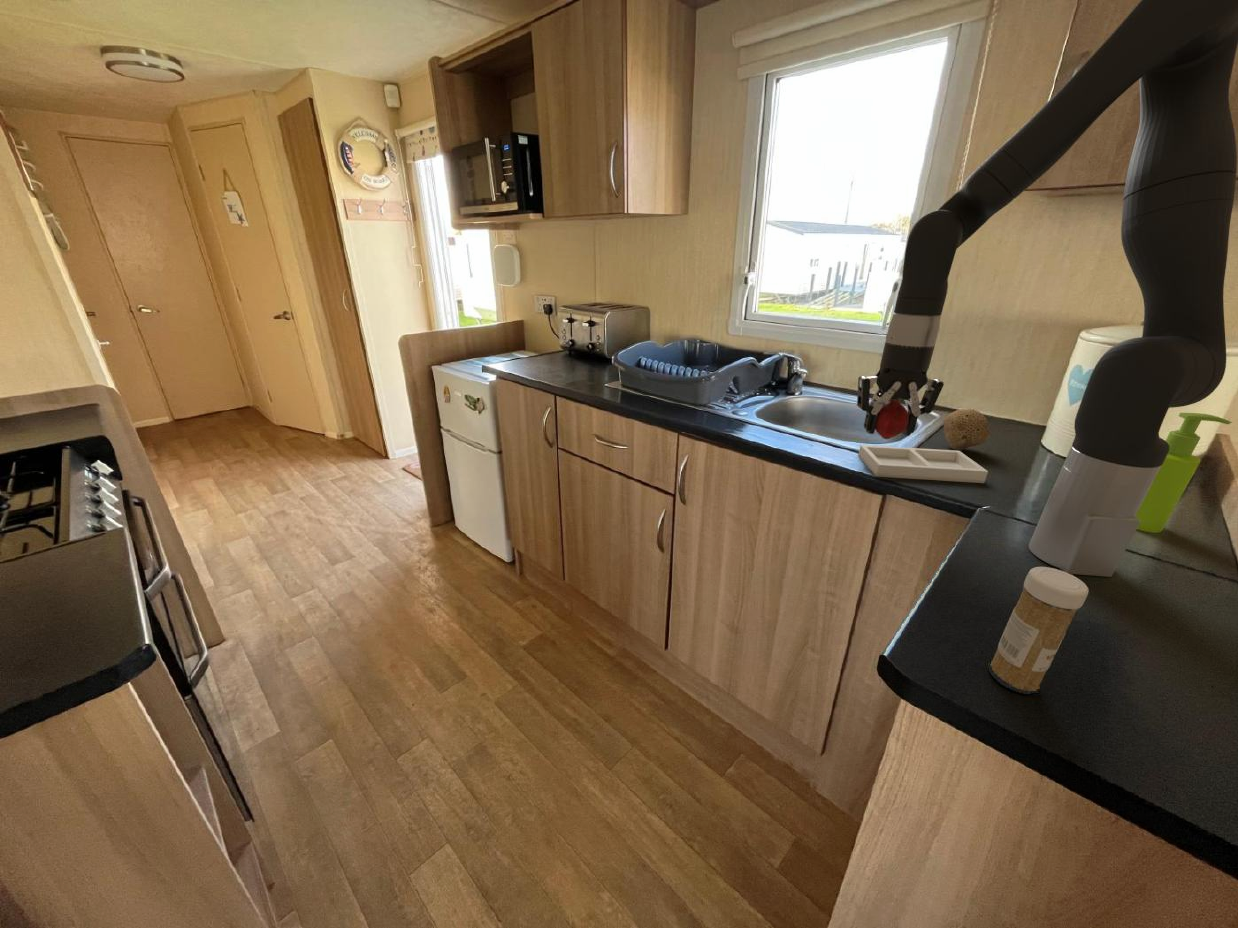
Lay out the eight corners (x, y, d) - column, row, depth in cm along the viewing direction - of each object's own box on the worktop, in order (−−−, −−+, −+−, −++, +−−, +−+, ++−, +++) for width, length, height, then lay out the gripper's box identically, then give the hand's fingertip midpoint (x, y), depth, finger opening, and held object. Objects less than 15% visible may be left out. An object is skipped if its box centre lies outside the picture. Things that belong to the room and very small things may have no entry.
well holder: (983, 483, 98) (988, 471, 97) (875, 476, 100) (878, 464, 99) (955, 461, 108) (959, 450, 107) (858, 455, 110) (860, 445, 109)
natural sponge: (979, 447, 116) (993, 407, 112) (985, 460, 109) (1000, 418, 105) (935, 440, 120) (947, 401, 116) (938, 452, 113) (951, 411, 109)
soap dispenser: (1178, 536, 81) (1243, 423, 72) (1125, 528, 83) (1184, 417, 75) (1156, 520, 86) (1215, 412, 77) (1108, 512, 88) (1160, 406, 80)
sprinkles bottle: (1045, 702, 50) (1100, 598, 45) (993, 689, 52) (1041, 587, 46) (1028, 669, 54) (1076, 570, 49) (980, 658, 56) (1022, 560, 50)
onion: (908, 445, 87) (919, 402, 84) (874, 443, 88) (884, 400, 85) (897, 435, 93) (907, 394, 90) (865, 432, 94) (874, 392, 91)
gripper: (875, 343, 81) (854, 438, 87) (966, 346, 80) (938, 442, 86) (859, 336, 88) (841, 425, 94) (942, 339, 86) (918, 428, 93)
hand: (887, 433), depth 90 cm, fingers closed on onion, 5 cm apart
